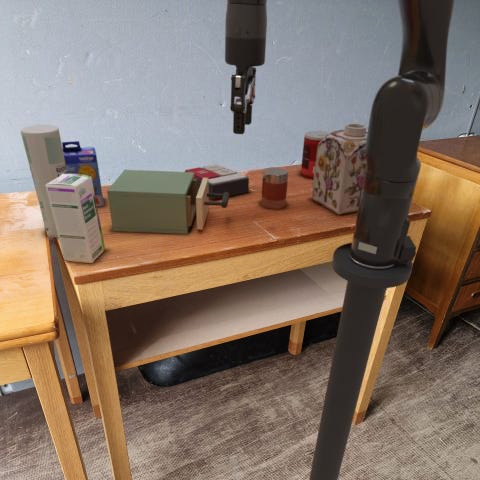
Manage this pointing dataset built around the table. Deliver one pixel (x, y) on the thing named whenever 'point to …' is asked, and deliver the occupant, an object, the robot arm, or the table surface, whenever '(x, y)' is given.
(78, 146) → the ink cartridge box
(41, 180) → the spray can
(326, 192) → the decorative jar
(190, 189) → the drawer
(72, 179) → the syrup box
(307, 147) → the canned food
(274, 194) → the tin
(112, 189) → the cabinet
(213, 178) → the red and beige packet
